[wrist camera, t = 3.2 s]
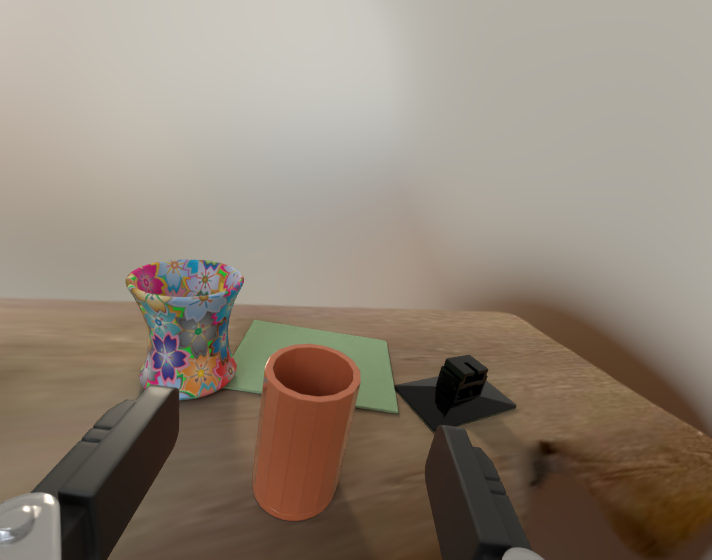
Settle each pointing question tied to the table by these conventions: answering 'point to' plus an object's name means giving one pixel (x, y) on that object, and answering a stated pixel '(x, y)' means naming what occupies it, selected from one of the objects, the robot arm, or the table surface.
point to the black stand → (455, 395)
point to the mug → (187, 324)
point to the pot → (303, 429)
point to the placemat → (361, 350)
